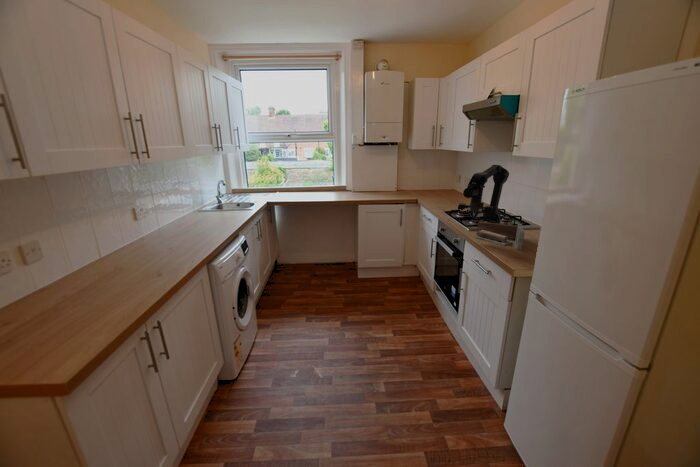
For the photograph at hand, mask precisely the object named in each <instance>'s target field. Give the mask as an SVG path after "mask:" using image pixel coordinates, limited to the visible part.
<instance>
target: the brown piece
mask: <svg viewBox="0 0 700 467" xmlns="http://www.w3.org/2000/svg"><path fill="white" fill-rule="evenodd" d="M476 229H477V232H476V234H477V233H478V231H481V230H486V231H490V232H493V233H497V234H501V235H504V236H507V237H508V240H509V239H510V240H514V242H515V246H516V250H517V251H522V250H523V249H522V248H523V244H524V239H525V234H526V233H525V230H524V227H523V223H517V225H513V224H505V223H504V224H503V223H500V224H497V223H488V222H487V221H478V224H477V228H476Z"/></svg>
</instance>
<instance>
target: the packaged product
mask: <svg viewBox="0 0 700 467" xmlns="http://www.w3.org/2000/svg"><path fill="white" fill-rule="evenodd" d="M474 238H475V239H477V240H481V241H485V242H488V243H491V244H494V245H499V246H501V247H505V246H507V245H510V244H511V243H512V242H513V241H512V240H509V238H508V237H507V236H504V235H501V234H497V233H493V232H490V231H486V230H481V231H478V233H477V232H476V235H475V236H474Z"/></svg>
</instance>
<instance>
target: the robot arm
mask: <svg viewBox="0 0 700 467" xmlns="http://www.w3.org/2000/svg"><path fill="white" fill-rule="evenodd" d="M491 177H492V180H493V182H494V183H493V188H492V194H491V198H490V201H489V202H490V203H489V205H487V204H485V203H484V202H482V200H483V192H484V188H485V189H486V186H485V185H486V183H487V182H488V179H490V178H491ZM509 177H510V172H509V171H508V169H506V168H505V167H503V166H502V165H499V164H492V165H491V166H490V167H488V168H487V169H485V170H483V171H482V172H476V173H474V174H473V175H472V176H471V178H470V180H469V182H468V183H467V186H466V188H464V190H463V191H462V192H463V197H464V198H467V199H469V198H470V203H469V205H468V204H466V203H464V202H459V203H458V204H457V210H462V211H464V210H465V209H467V212H469V215H470V218H471V221H472V223H474V222H475V221H476V218H477V216H478V215H479V214H480V213H482V211H484V214H483V222H488V223H497V224H501V221H502V218H501V216H500V210H499V203H500V199H501V195H502V190H503V186H504V184H505V183H506V182H507V181H508V178H509ZM484 205H485V206H484ZM474 211H475V213H474Z"/></svg>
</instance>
